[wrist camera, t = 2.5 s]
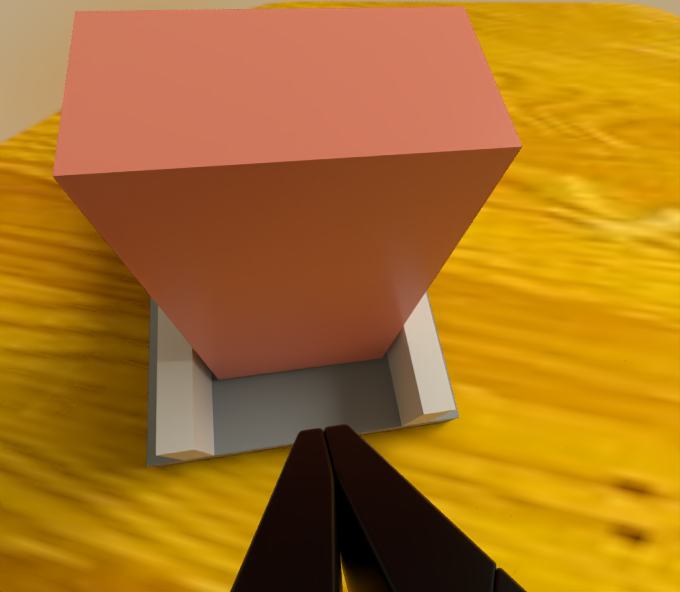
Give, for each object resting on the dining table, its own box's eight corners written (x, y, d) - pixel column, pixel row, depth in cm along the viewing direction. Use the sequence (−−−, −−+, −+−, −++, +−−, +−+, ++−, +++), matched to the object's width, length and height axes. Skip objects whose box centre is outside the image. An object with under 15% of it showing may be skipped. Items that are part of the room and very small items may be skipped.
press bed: (450, 420, 16) (496, 402, 13) (156, 467, 15) (105, 462, 11) (374, 115, 23) (389, 41, 19) (160, 126, 21) (129, 47, 17)
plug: (381, 358, 16) (521, 146, 6) (218, 379, 15) (52, 175, 5) (367, 286, 17) (463, 6, 7) (215, 302, 16) (75, 11, 6)
